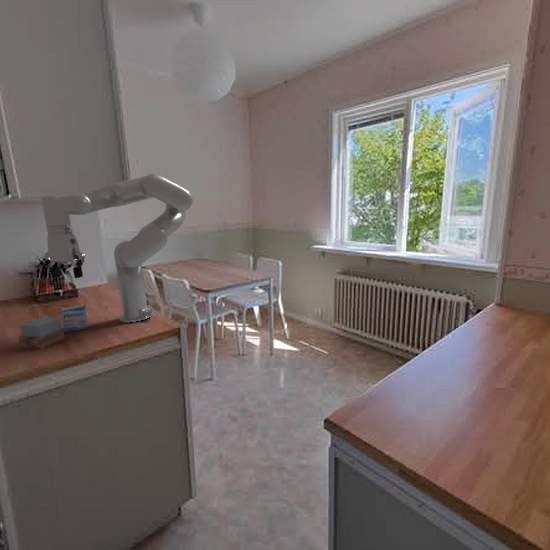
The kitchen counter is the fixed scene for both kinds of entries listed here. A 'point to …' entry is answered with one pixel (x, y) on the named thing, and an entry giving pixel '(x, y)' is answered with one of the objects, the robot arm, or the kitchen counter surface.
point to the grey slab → (40, 327)
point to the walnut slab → (41, 340)
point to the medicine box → (74, 318)
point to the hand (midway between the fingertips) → (68, 277)
